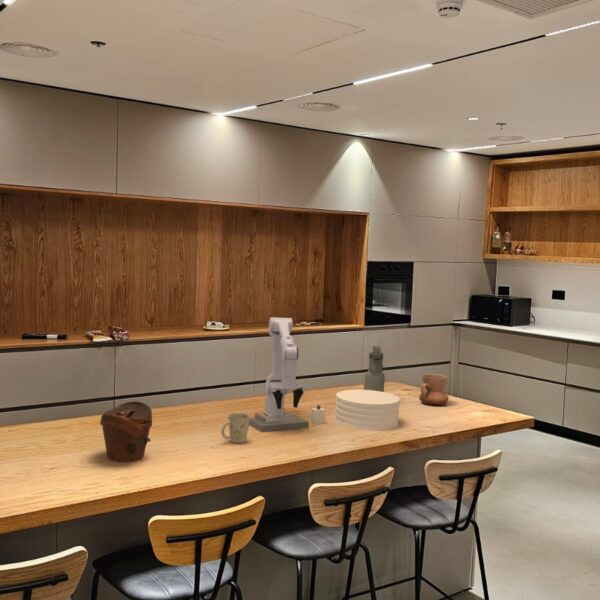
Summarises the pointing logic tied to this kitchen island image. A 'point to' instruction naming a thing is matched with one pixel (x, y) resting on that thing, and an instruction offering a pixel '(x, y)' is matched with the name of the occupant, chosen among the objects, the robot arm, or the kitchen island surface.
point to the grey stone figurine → (375, 371)
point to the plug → (318, 415)
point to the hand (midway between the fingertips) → (287, 407)
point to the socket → (280, 423)
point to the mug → (237, 427)
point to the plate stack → (367, 409)
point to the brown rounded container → (126, 430)
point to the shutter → (266, 419)
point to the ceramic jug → (433, 389)
